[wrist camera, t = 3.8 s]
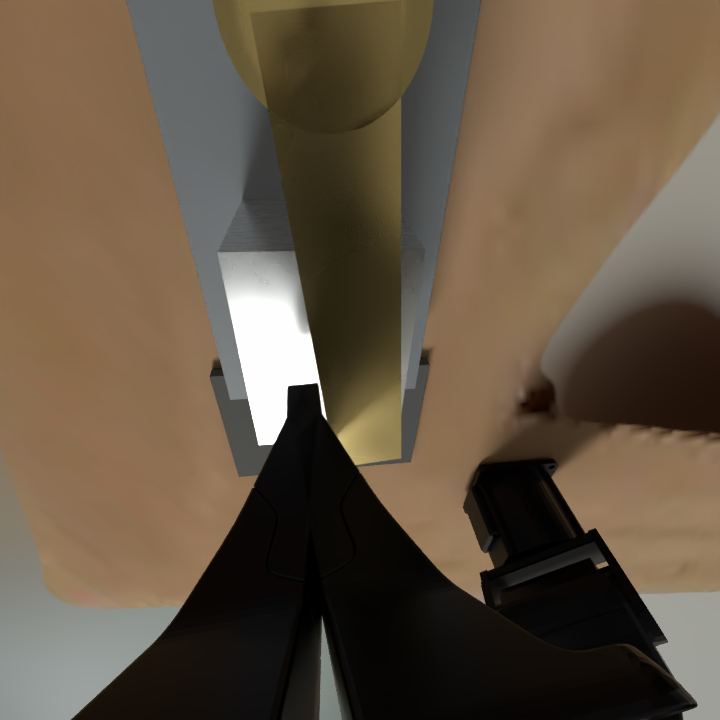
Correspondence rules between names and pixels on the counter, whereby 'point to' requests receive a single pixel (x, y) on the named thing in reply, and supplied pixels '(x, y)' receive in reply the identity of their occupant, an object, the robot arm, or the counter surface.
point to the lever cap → (287, 308)
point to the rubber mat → (254, 455)
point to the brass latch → (340, 184)
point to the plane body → (257, 149)
